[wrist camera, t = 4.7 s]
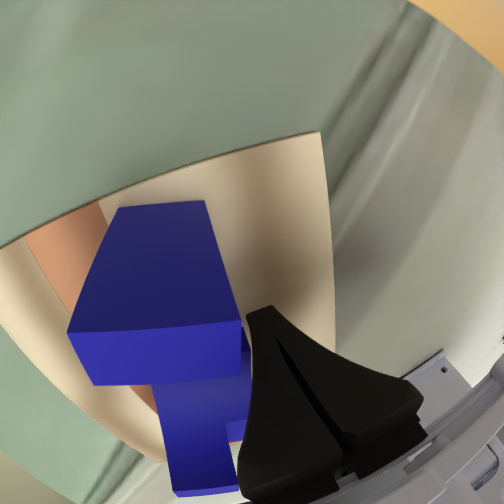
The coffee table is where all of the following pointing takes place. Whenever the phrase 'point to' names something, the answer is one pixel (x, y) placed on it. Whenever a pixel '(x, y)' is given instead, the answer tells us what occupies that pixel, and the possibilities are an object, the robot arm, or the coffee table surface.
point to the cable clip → (170, 336)
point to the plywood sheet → (231, 249)
